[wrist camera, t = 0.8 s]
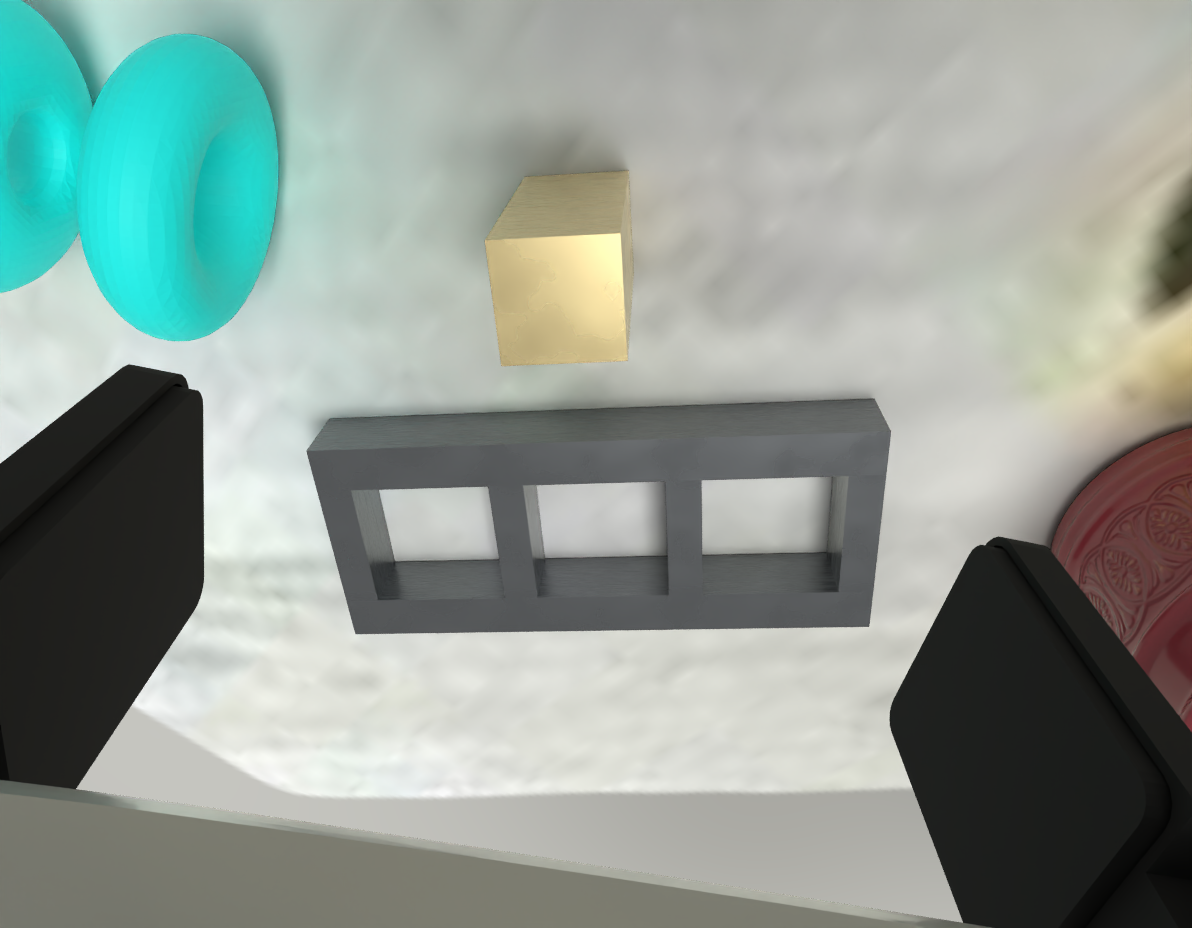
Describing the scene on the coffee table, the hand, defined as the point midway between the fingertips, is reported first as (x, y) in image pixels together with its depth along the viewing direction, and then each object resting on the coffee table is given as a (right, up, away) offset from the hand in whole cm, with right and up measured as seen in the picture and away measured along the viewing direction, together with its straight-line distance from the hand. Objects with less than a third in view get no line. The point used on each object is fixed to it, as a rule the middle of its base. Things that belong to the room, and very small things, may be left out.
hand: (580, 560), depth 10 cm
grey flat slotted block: (0, -1, +30) cm, 30 cm away
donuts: (-17, +14, +23) cm, 32 cm away
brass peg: (0, +11, +24) cm, 26 cm away
